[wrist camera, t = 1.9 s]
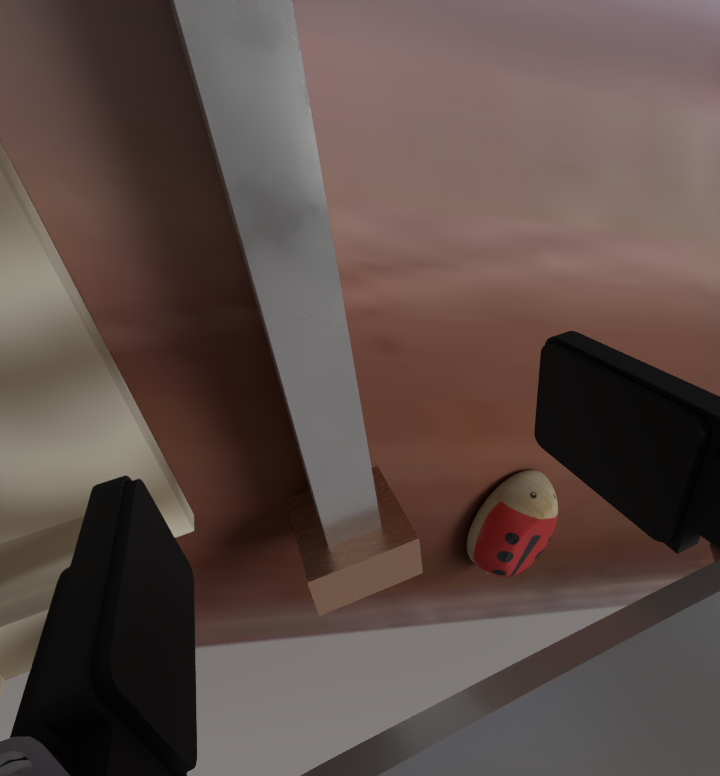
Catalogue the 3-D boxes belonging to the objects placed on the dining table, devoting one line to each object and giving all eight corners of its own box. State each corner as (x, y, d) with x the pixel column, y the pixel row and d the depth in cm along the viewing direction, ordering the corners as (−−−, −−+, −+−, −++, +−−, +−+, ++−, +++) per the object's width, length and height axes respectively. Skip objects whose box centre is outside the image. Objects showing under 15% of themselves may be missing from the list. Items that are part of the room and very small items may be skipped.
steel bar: (0, -347, 10) (-177, -802, 5) (249, -334, 11) (295, -689, 6) (295, 530, 27) (319, 616, 23) (382, 498, 29) (422, 572, 24)
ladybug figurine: (557, 463, 34) (592, 494, 31) (510, 553, 38) (537, 587, 35) (489, 465, 31) (520, 499, 28) (447, 561, 35) (470, 600, 32)
